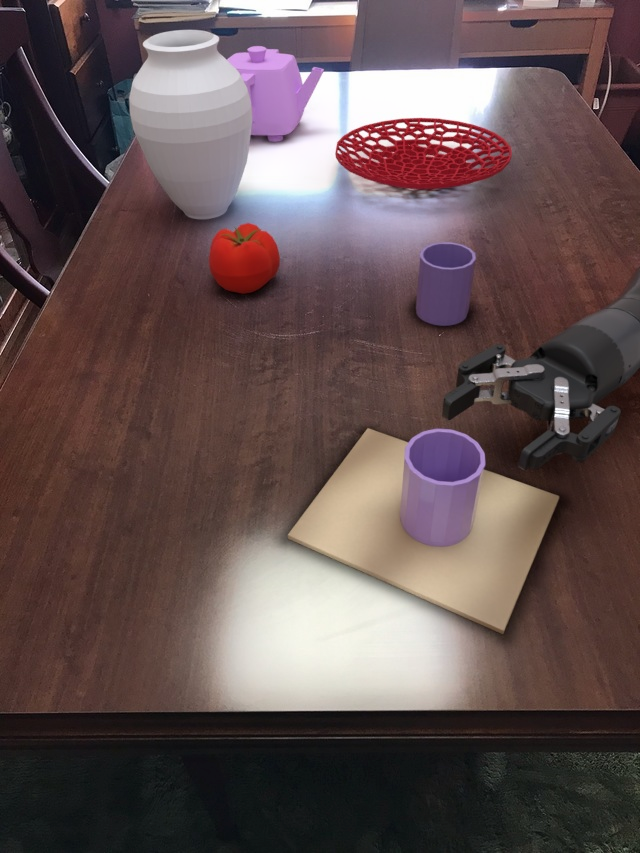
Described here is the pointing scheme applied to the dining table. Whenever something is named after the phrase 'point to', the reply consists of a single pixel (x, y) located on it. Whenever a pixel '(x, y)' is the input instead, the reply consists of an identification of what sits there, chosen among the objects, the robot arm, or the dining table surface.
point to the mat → (419, 563)
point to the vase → (192, 120)
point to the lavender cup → (441, 486)
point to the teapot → (274, 90)
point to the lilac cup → (444, 283)
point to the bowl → (423, 154)
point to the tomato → (243, 258)
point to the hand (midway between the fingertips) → (482, 435)
